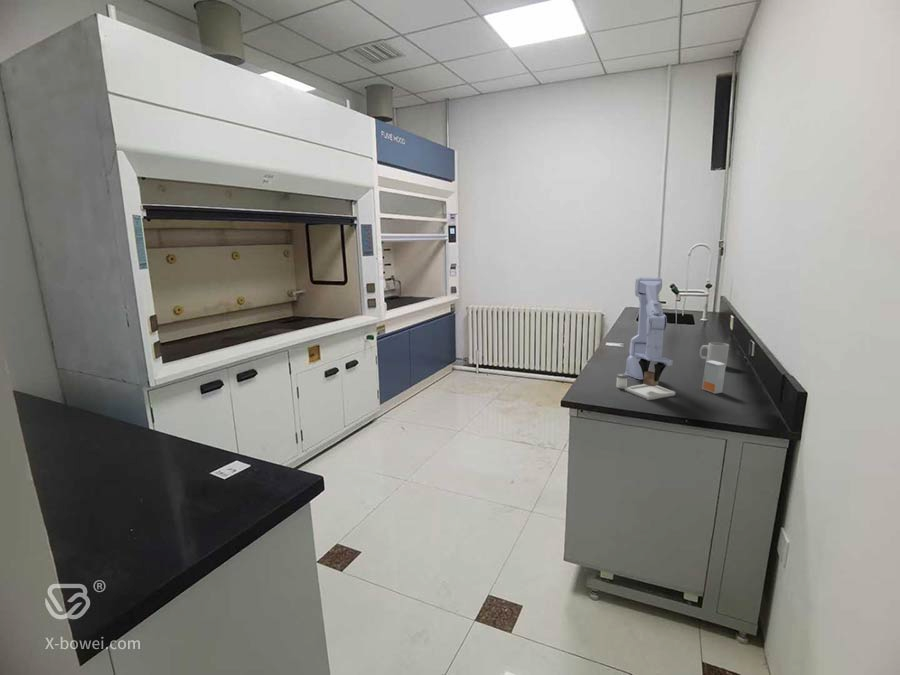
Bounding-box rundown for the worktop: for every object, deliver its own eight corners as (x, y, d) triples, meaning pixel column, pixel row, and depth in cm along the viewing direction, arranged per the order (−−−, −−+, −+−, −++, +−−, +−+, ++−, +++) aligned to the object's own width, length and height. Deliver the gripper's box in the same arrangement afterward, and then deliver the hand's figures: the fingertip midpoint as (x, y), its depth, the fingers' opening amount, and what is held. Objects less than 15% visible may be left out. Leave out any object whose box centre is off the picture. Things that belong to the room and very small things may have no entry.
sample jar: (613, 386, 185) (614, 374, 184) (621, 384, 187) (622, 373, 186) (621, 389, 181) (622, 377, 180) (629, 388, 183) (630, 375, 182)
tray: (624, 390, 180) (625, 387, 180) (650, 386, 185) (651, 383, 185) (648, 400, 169) (648, 396, 169) (675, 395, 174) (675, 391, 174)
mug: (728, 366, 214) (731, 343, 212) (723, 369, 208) (726, 346, 206) (700, 361, 222) (703, 340, 220) (695, 364, 216) (698, 342, 214)
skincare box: (701, 389, 181) (705, 360, 179) (709, 388, 183) (712, 359, 180) (714, 394, 176) (718, 364, 173) (722, 392, 177) (726, 363, 175)
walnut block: (643, 384, 177) (644, 371, 176) (648, 382, 179) (649, 370, 178) (652, 386, 174) (654, 374, 173) (658, 384, 176) (659, 372, 175)
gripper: (631, 344, 176) (628, 376, 179) (667, 351, 165) (663, 385, 168) (640, 341, 180) (637, 373, 183) (676, 348, 169) (672, 382, 172)
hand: (650, 379), depth 176 cm, fingers closed on walnut block, 4 cm apart
